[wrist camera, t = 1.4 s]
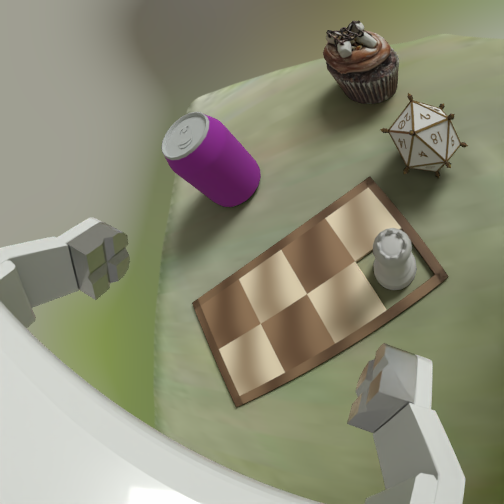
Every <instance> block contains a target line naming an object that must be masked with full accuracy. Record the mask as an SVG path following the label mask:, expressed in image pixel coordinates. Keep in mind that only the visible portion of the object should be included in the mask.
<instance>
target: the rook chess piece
mask: <svg viewBox="0 0 504 504" xmlns="http://www.w3.org/2000/svg"><path fill="white" fill-rule="evenodd" d="M411 251H412V245H411V240H410V239H409V237H408V235H407V234H406V233H405V232H403V231H402V230H400V229H396V228H389V229H385V230H384V231H382V232H380V233H379V234H378V235H377V237H376V238H375V240H374V243H373V254H374V256H375V261H374V275H375V277H376V279H377V281H378V282H379V283H380V284H381V285H382V286H383V287H384V288H387V289H390V290H399V289H403V288H404V287H406V286H408V285H409V284H410V283H411V282H412V280H413V279H414V277H415V274H416V270H417V269H416V261H415V258H414V256H413V254H412V252H411Z"/></svg>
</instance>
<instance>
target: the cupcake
mask: <svg viewBox="0 0 504 504" xmlns="http://www.w3.org/2000/svg"><path fill="white" fill-rule="evenodd" d="M326 40H327V41H328V43H327V45H326V46H325V48H324V52H323V55H324V59H325V60H326V64H327V69H328V71H329V72H330V74H331V75H332V76H333V77H334V79H335V80H336V81H337V83H338V84H339V86H340V87H341V88H342V90H343V91H344V92H345V94H346V95H347V96H348V97H349V98H350V99H351V100H353V101H356V102H359V103H363V104H374V103H380V102H382V101H384V100H387V99H389V98H390V97H392V95H393V94H394V93H395V92H396V89H397V83H398V67H399V58H398V55H396V52H394V49H391V47H390V46H389V44H388V42H387V41H386V40H385V39H384V38H383V37H381V36H380V35H378V34H376V33H372V32H369V31H364V26H363V24H362V23H360V21H352V22H351V23H350V24H349V26H348V27H347V28H345V27H344V28H341V29H340V31H331V30H328V31H327V35H326Z"/></svg>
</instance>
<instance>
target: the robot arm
mask: <svg viewBox="0 0 504 504" xmlns="http://www.w3.org/2000/svg"><path fill="white" fill-rule="evenodd" d="M127 245H128V238H127V235H126V234H125V233H124V232H122V231H120V230H118V229H116V228H114V227H112V226H110V225H108V224H106V223H104V222H102V221H100V220H98V219H96V218H88V219H86V220H85V221H83V222H81V223H80V224H78V225H76V226H75V227H73V228H72V229H70V230H68V231H67V232H65V233H64V234H62V235H60V236H59V237H57V238H56V237H49V238H44V239H39V240H34V241H30V242H25V243H20V244H15V245H11V246H7V247H2V248H0V504H325V503H321V502H318V501H314V500H311V499H308V498H304V497H301V496H298V495H295V494H292V493H289V492H286V491H284V490H281V489H278V488H275V487H273V486H270V485H267V484H265V483H262V482H260V481H257V480H255V479H252V478H250V477H247V476H245V475H243V474H240V473H238V472H236V471H234V470H231V469H229V468H227V467H225V466H223V465H220V464H218V463H216V462H214V461H212V460H210V459H208V458H206V457H204V456H202V455H200V454H198V453H196V452H194V451H193V450H191V449H189V448H187V447H185V446H183V445H181V444H180V443H178V442H176V441H174V440H172V439H171V438H169V437H167V436H166V435H164V434H162V433H161V432H159V431H157V430H156V429H154V428H152V427H151V426H149V425H147V424H146V423H144V422H143V421H141V420H140V419H138V418H136V417H135V416H133V415H132V414H130V413H129V412H127V411H126V410H125V409H123V408H122V407H120V406H119V405H117V404H116V403H114V402H113V401H112V400H110V399H109V398H107V397H106V396H105V395H103V394H102V393H101V392H99V391H98V390H97V389H95V388H94V387H93V386H91V385H90V384H89V383H88V382H86V381H85V380H84V379H83V378H81V377H80V376H79V375H78V374H76V373H75V372H74V371H73V370H71V369H70V368H69V367H68V366H67V365H66V364H64V363H63V362H62V361H61V360H60V359H59V358H57V357H56V356H55V355H54V354H53V353H52V352H51V351H50V350H49V349H47V348H46V347H45V346H44V345H43V344H42V343H41V342H40V341H39V340H38V339H37V338H36V337H35V336H34V335H33V334H32V333H31V332H29V330H28V329H27V327H29V326H30V325H31V324H32V323H33V322H34V321H35V318H36V317H35V315H34V312H33V310H32V307H35V306H38V305H40V304H43V303H46V302H49V301H52V300H54V299H57V298H60V297H63V296H65V295H68V294H71V293H73V292H76V291H78V290H81V291H82V292H84V293H85V294H87V295H88V296H90V297H92V298H93V299H95V300H97V299H98V298H99V297H100V296H101V295H102V294H104V293H105V292H106V291H107V290H108V289H109V288H110V283H112V282H116V281H119V280H120V279H121V278H122V277H123V276H124V275H125V273H126V272H127V270H128V268H129V263H130V259H129V254H128V252H127V250H126V247H127ZM356 393H357V396H358V398H357V399H356V400H355V401H354V403H353V404H352V407H351V411H350V414H349V418H348V422H347V424H349V425H352V426H355V427H358V428H360V429H363V430H366V431H369V432H372V433H374V434H373V437H374V441H375V445H376V449H377V453H378V457H379V462H380V466H381V470H382V474H383V479H384V483H385V488H386V490H384V491H381V492H379V493H376V494H374V495H371V496H370V497H368V498H366V500H365V503H364V504H462V502H463V495H464V488H465V477H464V474H463V472H462V469H461V467H460V464H459V462H458V460H457V457H456V455H455V453H454V450H453V448H452V446H451V444H450V441H449V439H448V437H447V435H446V432H445V430H444V428H443V426H442V424H441V422H440V420H439V417H438V415H437V413H436V411H435V410H432V409H431V401H432V361H431V360H430V359H427V358H424V357H421V356H419V355H415V354H413V353H410V352H407V351H404V350H401V349H399V348H396V347H393V346H390V345H388V344H385V343H383V344H382V345H381V346H380V347H379V349H378V350H377V351H376V356H375V359H374V360H371V361H369V362H368V364H367V365H366V367H365V368H364V370H363V372H362V374H361V376H360V378H359V381H358V384H357V388H356Z"/></svg>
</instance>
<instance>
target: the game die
mask: <svg viewBox="0 0 504 504" xmlns="http://www.w3.org/2000/svg"><path fill="white" fill-rule="evenodd" d="M407 97H408V98H409V100H410V102H409V104H408V105H407V106H406V108H405V109H404V110H403V112H402V113H401V114H400V115H399V117H398V118H397V119H396V121H395V122H394V123H393V125H392V126H391V127H390V128H389V129H385V128H383V129H381V131H382V132H383V133H389V134H390V136H391V138H392V140H393V142H394V144H395V145H396V147H397V149H398V151H399V153H400V155H401V157H402V159H403V160H404V162H405V164H406V166H407V167H406V168H405V169H404V170H403V171H404V174H406V173H408V171H409V168H411V169H419V170H427V171H434V172H435V174H436V176H437V177H438V178H439V176H440V174H439V172H438V171H439V170H440V169H441V168H442V167H443V166H444V165H446V166H447V168H451V163H450V162H448V160H449V159H450V158H451V157H452V155H453V154H454V153H455V152H456V150H457V149H458V148H459V147H460V146H462V147H464V148H465V147H466V146H468V145H467V144H466V143H463V142H462V143H461V142H460V140H459V138H458V135H457V133H456V131H455V129H454V127H453V124H452V122H451V120H453V119H454V114H450V115H449V116H447V115H446V114H445V113H444V111H443V110H442V109H443V108H444V107H445V106H444V103H443V104H440V106H439V107H440V108H438V107H434V106H431V105H427V104H424V103H420V102H417V101H413V97H412V95H410V94H409V93H408V96H407Z"/></svg>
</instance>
